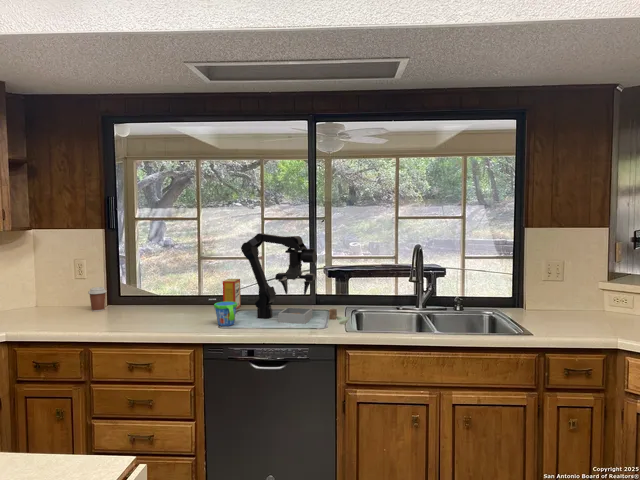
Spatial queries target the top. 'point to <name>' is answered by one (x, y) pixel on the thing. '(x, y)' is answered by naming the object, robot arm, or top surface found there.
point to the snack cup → (225, 312)
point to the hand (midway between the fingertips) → (295, 294)
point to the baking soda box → (232, 291)
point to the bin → (295, 315)
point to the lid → (334, 315)
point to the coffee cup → (97, 298)
